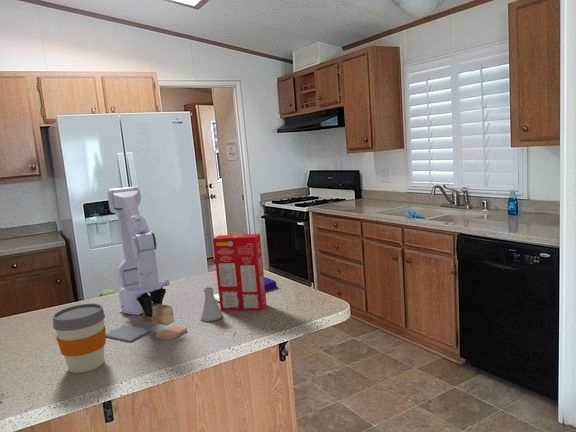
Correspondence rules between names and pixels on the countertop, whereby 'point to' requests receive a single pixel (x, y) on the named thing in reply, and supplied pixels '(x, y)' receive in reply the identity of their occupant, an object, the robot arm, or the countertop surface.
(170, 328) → the tile
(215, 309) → the flask
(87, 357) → the reusable coffee cup
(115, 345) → the countertop surface
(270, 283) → the spray bottle
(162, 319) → the tall tan prism
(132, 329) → the plate
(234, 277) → the food packaging
